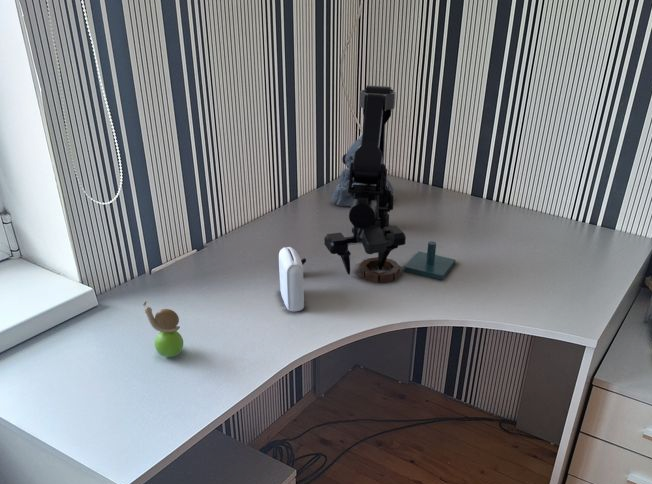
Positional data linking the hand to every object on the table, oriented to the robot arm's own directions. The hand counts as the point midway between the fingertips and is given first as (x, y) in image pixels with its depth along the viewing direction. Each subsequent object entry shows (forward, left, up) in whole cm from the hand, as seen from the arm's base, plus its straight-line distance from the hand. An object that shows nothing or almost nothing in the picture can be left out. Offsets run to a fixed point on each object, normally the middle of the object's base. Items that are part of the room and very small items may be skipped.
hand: (364, 271), depth 168 cm
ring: (+3, +3, -1) cm, 4 cm away
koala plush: (-21, +46, -1) cm, 51 cm away
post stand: (+13, +12, -1) cm, 17 cm away
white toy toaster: (-9, -19, -1) cm, 21 cm away
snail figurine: (-20, -49, -1) cm, 53 cm away
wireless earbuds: (-14, -8, -1) cm, 16 cm away
